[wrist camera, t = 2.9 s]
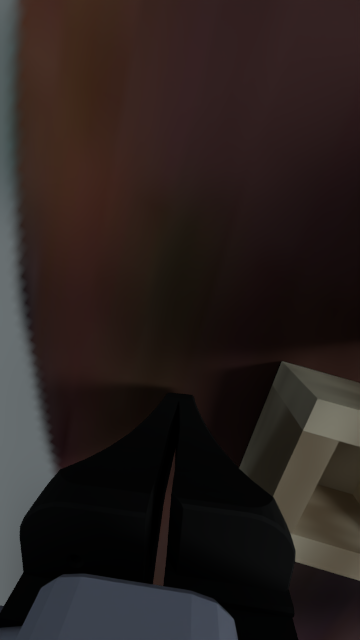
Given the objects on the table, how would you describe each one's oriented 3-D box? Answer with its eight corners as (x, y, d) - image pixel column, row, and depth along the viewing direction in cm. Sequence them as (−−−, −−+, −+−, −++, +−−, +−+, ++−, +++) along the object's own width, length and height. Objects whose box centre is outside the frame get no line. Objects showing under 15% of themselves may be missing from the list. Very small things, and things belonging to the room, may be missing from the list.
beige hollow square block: (426, 401, 11) (525, 457, 8) (361, 512, 13) (419, 598, 10) (281, 361, 11) (317, 398, 8) (235, 476, 13) (249, 547, 10)
